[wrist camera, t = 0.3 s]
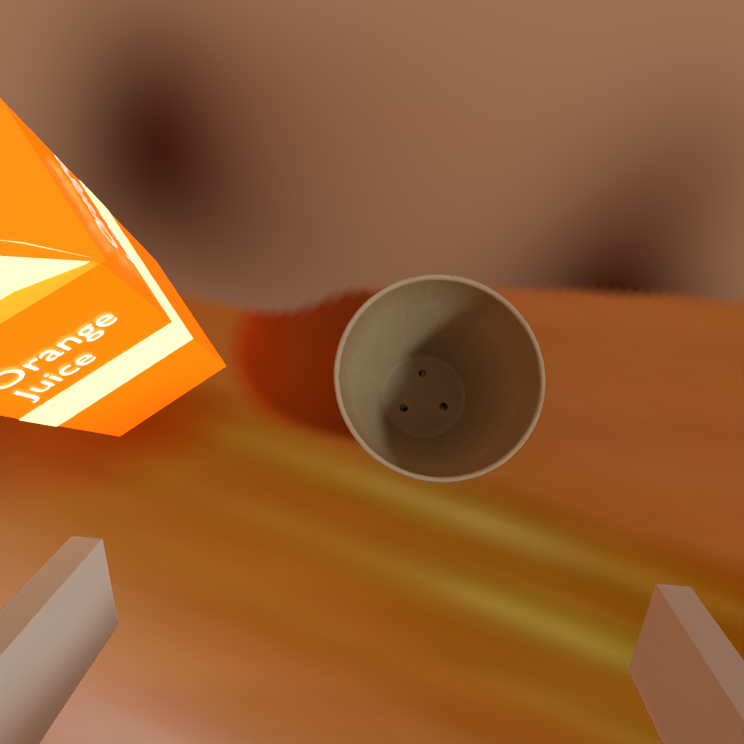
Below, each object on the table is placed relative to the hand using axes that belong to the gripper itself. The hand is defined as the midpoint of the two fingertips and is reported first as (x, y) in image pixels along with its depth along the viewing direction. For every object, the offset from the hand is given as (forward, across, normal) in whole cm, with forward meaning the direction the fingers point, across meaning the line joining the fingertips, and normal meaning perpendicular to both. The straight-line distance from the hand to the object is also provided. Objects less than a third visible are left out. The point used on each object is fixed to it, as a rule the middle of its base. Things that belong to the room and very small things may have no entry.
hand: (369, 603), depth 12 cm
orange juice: (+19, +16, 0) cm, 25 cm away
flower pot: (+18, -2, +3) cm, 19 cm away
